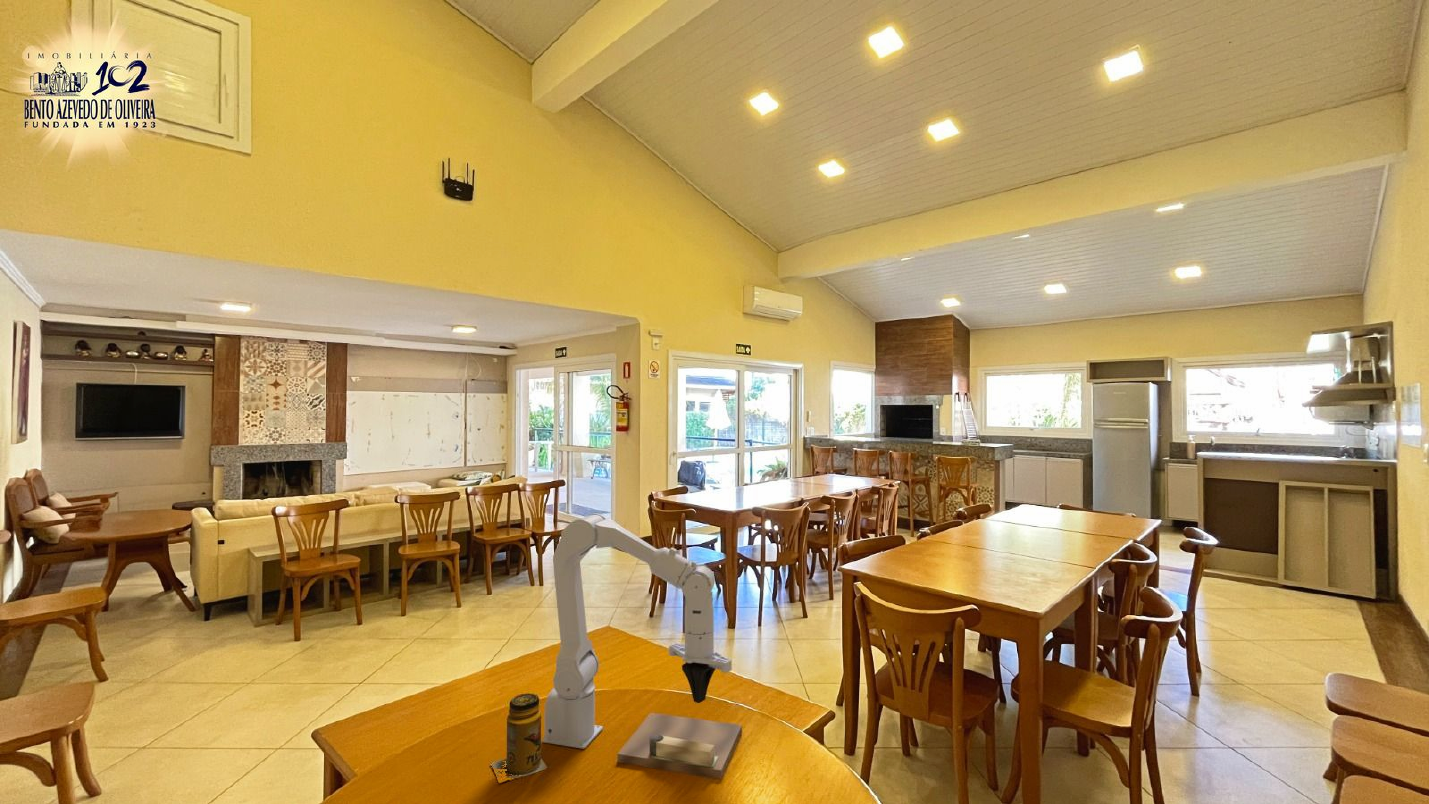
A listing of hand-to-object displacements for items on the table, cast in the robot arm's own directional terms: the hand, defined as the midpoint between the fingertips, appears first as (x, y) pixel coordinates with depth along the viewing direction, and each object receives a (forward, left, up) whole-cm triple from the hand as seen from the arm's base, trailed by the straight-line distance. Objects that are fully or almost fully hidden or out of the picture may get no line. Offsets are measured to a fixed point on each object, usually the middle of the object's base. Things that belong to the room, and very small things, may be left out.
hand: (699, 700), depth 109 cm
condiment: (-30, -15, -9) cm, 35 cm away
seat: (-3, -1, -8) cm, 9 cm away
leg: (-1, -8, -7) cm, 10 cm away
